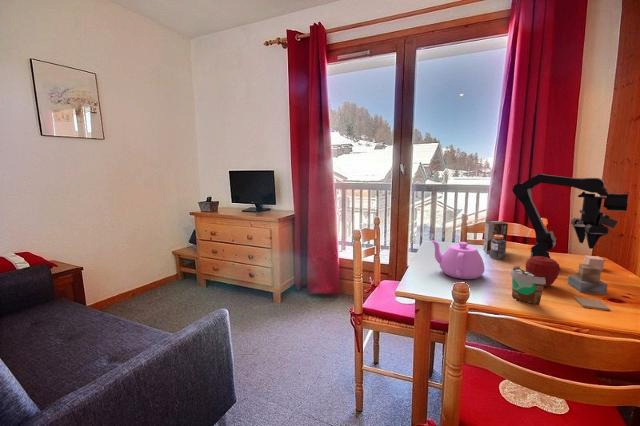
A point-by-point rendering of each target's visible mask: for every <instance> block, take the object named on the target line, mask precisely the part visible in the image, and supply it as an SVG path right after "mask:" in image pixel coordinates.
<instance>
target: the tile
mask: <svg viewBox="0 0 640 426" xmlns="http://www.w3.org/2000/svg"><path fill="white" fill-rule="evenodd" d="M573 298H574V300H575V301H576V302H577V303H578V304H579V305H580V306H581V307H582V308H585V307H586V308H588V309H594V310H600V311H601V310H602V311H611V308H610V307H609V306H607V305H606V304H605V303H604V302H603V301H602V300H600V299H596V298H589V297H588V298H587V297H581V296H574V297H573Z"/></svg>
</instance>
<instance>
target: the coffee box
mask: <svg viewBox="0 0 640 426" xmlns="http://www.w3.org/2000/svg"><path fill="white" fill-rule="evenodd" d="M508 226H509V223H507V222H506V221H503V220H485V222H484V231H483V232H484V234H483V235H484V236H483V247H482V250H483V252H485V254H490V253H491V241H492V239H494V235H502V236H504V238H503V240H504V241H505V252H504V255H506V250H507V239H508Z"/></svg>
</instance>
